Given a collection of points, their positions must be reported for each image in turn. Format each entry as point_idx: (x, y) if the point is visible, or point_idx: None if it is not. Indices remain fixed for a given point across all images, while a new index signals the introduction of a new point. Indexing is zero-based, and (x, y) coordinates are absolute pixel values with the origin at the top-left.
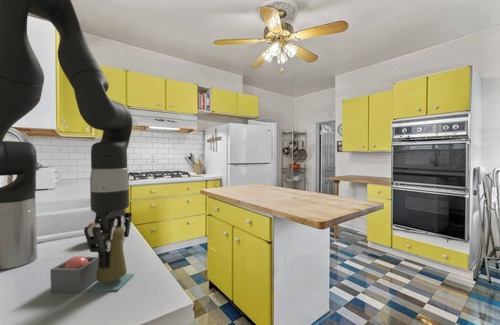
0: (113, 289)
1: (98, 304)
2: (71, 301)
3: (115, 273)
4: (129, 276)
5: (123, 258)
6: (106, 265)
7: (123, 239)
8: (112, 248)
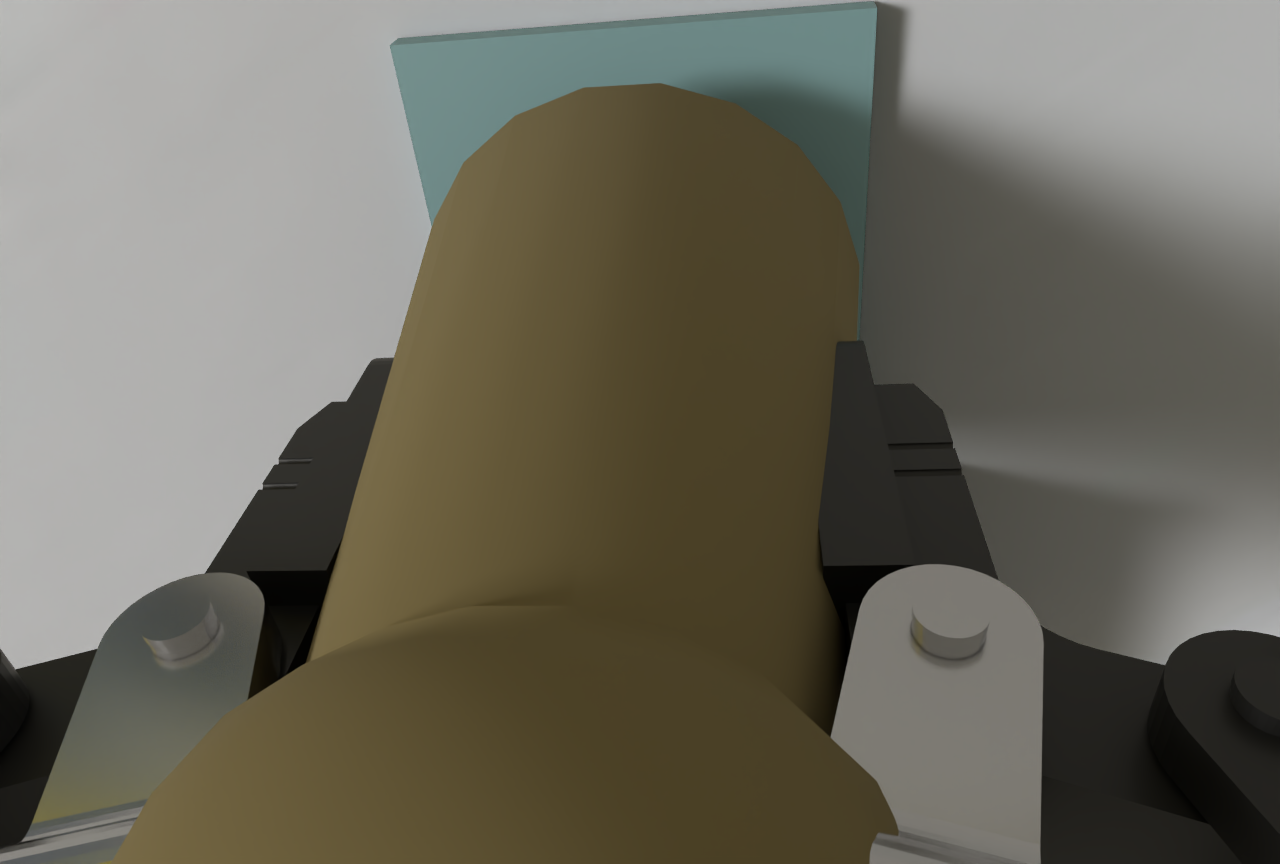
0: (871, 83)
1: (1213, 64)
2: (1070, 434)
3: (787, 188)
4: (478, 72)
5: (544, 247)
6: (885, 393)
7: (197, 626)
8: (780, 574)
